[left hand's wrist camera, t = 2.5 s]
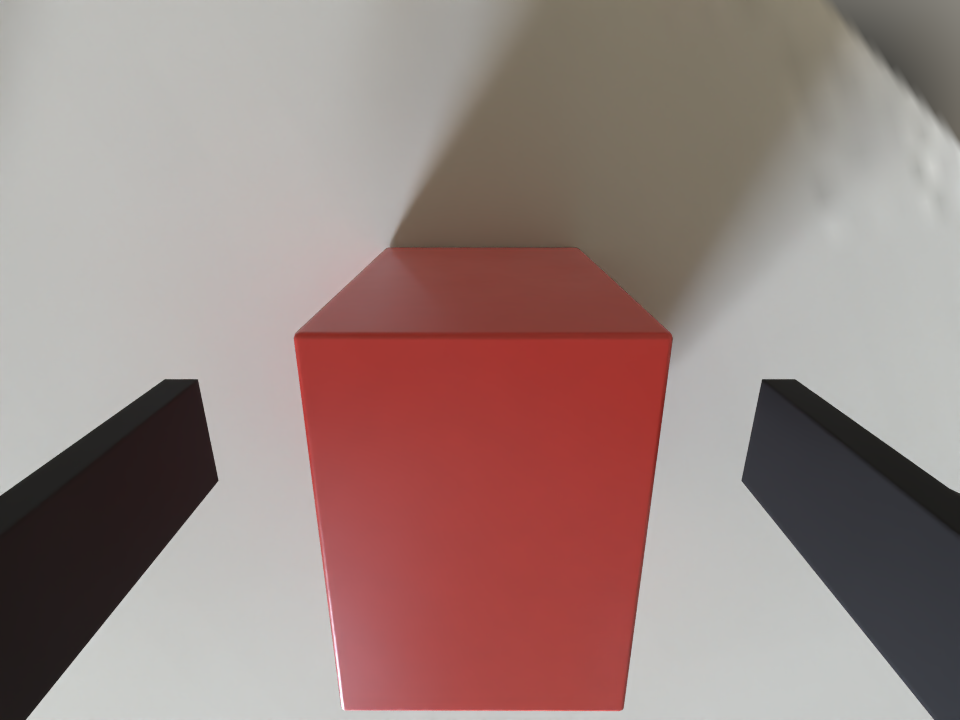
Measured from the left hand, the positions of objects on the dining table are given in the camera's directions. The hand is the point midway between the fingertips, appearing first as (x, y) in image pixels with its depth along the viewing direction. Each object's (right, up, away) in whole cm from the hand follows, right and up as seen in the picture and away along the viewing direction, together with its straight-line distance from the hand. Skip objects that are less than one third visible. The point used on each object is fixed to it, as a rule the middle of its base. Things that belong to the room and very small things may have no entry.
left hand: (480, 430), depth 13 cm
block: (0, +1, +4) cm, 4 cm away
